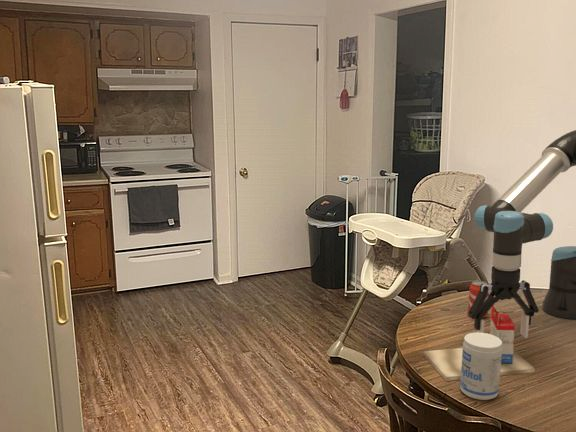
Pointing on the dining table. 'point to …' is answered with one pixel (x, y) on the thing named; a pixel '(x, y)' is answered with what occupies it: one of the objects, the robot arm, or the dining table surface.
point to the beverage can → (475, 293)
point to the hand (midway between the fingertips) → (501, 337)
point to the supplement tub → (481, 365)
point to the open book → (451, 363)
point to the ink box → (503, 334)
